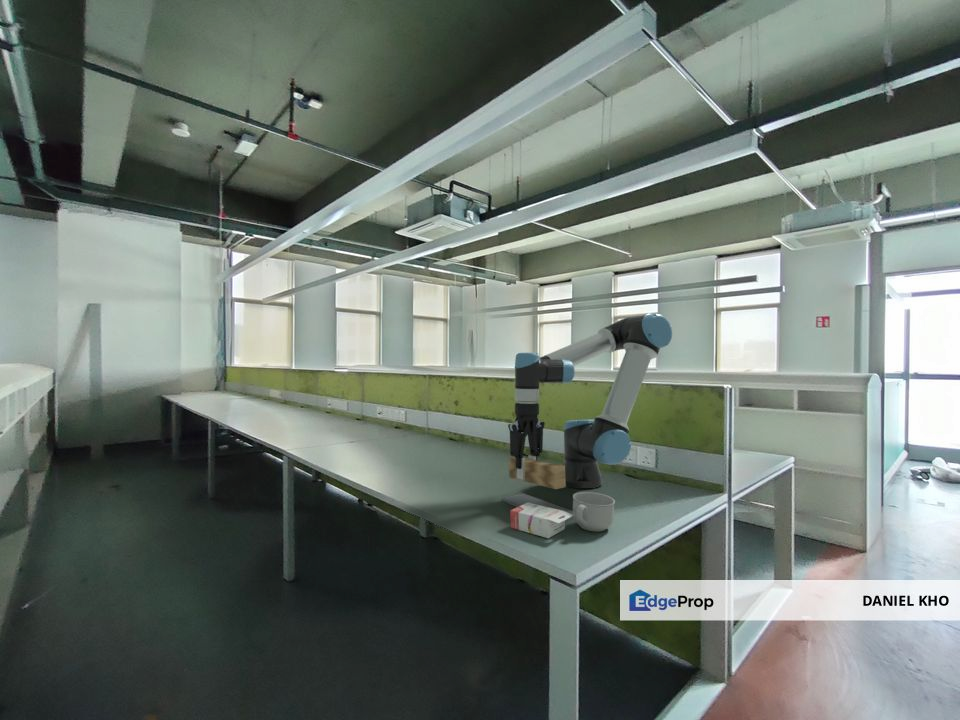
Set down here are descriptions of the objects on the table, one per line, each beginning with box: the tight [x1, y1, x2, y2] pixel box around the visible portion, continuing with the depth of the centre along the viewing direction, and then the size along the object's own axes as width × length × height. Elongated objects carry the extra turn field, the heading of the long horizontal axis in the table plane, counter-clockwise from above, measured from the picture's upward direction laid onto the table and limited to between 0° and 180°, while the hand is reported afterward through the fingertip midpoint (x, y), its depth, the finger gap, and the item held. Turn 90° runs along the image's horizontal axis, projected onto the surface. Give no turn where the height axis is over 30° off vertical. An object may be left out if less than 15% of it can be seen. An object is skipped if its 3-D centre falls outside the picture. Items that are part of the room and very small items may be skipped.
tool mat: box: [501, 493, 573, 517], centre depth 127 cm, size 9×22×1 cm, turn 36°
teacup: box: [572, 491, 616, 533], centre depth 110 cm, size 14×11×8 cm
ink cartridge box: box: [509, 503, 574, 539], centre depth 109 cm, size 9×5×15 cm
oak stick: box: [508, 456, 567, 490], centre depth 127 cm, size 20×4×6 cm, turn 37°
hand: (526, 477), depth 130 cm, fingers closed on oak stick, 4 cm apart
